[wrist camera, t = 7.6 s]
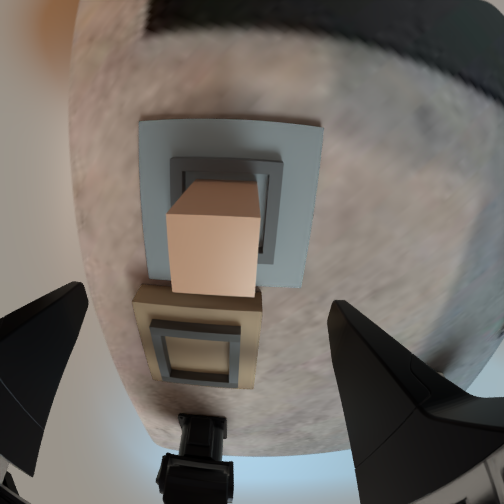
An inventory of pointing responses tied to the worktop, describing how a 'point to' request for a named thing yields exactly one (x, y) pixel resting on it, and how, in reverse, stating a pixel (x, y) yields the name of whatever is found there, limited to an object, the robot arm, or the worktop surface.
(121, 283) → the worktop surface
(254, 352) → the beige square socket
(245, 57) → the worktop surface
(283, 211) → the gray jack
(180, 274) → the plug
